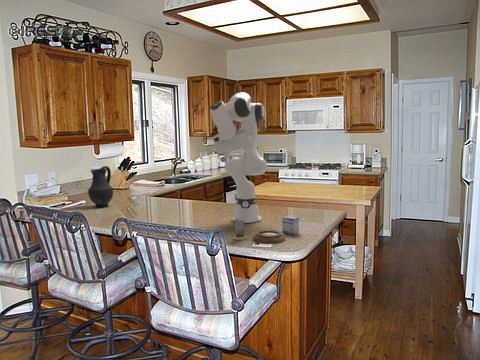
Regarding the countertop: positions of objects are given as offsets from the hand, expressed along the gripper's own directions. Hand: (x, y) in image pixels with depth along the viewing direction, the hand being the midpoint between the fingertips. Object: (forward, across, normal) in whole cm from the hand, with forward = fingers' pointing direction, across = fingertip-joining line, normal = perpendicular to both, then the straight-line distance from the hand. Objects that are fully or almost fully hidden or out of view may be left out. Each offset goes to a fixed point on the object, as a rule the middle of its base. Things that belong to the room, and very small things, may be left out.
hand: (238, 157), depth 209 cm
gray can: (+35, +7, +22) cm, 42 cm away
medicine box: (+48, -13, +5) cm, 49 cm away
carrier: (+40, -7, +18) cm, 45 cm away
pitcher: (+22, +139, -29) cm, 144 cm away
